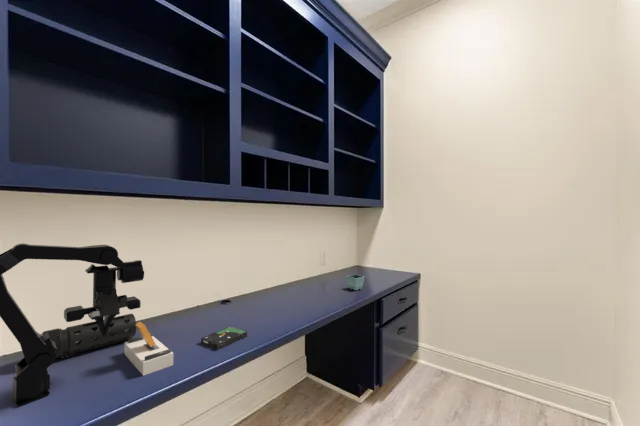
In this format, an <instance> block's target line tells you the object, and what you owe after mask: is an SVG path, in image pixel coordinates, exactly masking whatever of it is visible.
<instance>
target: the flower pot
mask: <svg viewBox="0 0 640 426" xmlns="http://www.w3.org/2000/svg"><path fill="white" fill-rule="evenodd" d="M364 282H365V276H364V275H359V274H350V275H346V283H347V286H348V288H349V289H350V290H352V289H353V290H352V291H355V290H356V291H359V289H360V290H361V289H362V287H363V286H364Z"/></svg>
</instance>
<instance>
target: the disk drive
mask: <svg viewBox="0 0 640 426" xmlns="http://www.w3.org/2000/svg"><path fill="white" fill-rule="evenodd" d="M245 337H246V338H247V337H248V331H247V330H244V329H241V328H236V327H233V326H229V327H225V328H223V329H220V330H218V331H214V332H212V333H209V334H208V335H205V336H203V337H201V338H200V339H201V341H200V342H201V343H200V344H202V345H204V346H206V347H209V348H212V349H214V350H216V349H217V351H220V350H222V349H224V348H227V346H228V347H229V346H231V345H232V343H233V344H235V343H237V342H239V341H241V340H243V339H245ZM240 339H241V340H240ZM238 340H239V341H238ZM236 341H237V342H236ZM234 342H235V343H234ZM221 348H222V349H221ZM219 349H220V350H219Z"/></svg>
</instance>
